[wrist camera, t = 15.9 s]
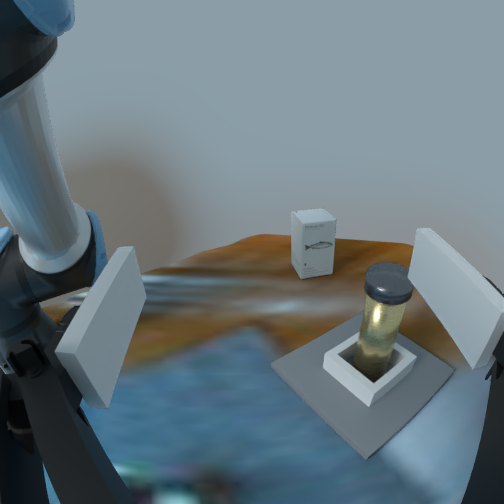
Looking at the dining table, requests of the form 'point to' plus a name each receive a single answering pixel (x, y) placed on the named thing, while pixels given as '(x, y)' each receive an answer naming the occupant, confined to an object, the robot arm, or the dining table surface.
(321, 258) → the supplement box
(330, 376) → the socket plate
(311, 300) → the dining table surface
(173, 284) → the dining table surface
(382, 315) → the lidded glass jar
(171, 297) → the dining table surface
